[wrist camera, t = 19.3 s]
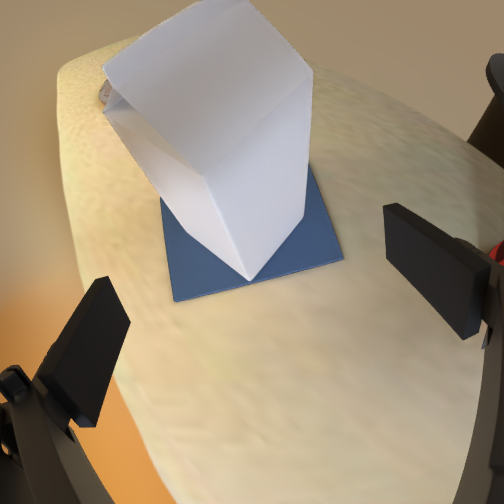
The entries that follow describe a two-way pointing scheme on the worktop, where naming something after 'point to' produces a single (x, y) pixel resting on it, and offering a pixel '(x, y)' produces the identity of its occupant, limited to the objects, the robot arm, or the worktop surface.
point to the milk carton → (218, 126)
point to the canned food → (498, 253)
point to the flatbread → (105, 92)
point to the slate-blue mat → (281, 263)
